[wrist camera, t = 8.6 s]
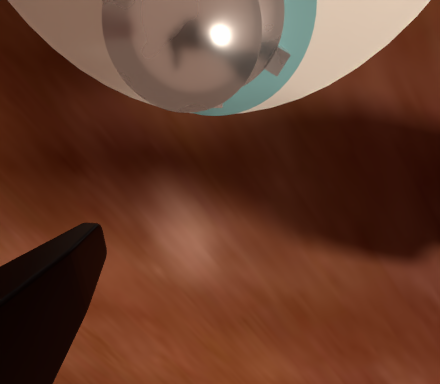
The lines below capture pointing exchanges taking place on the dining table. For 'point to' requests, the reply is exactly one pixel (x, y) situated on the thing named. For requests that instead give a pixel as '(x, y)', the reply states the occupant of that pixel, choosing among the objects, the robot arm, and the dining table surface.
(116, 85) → the carrier plate
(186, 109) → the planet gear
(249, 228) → the dining table surface
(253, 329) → the dining table surface
